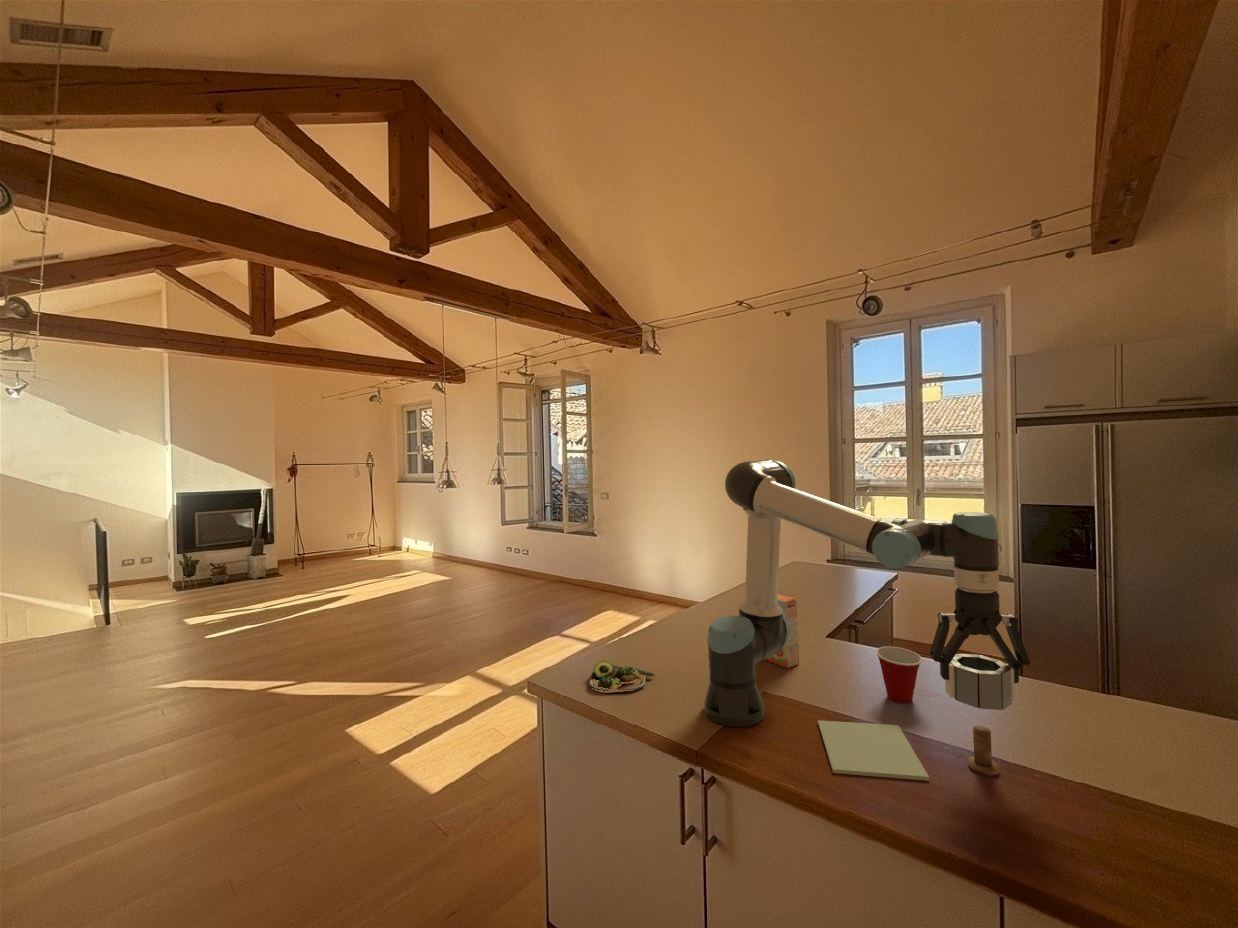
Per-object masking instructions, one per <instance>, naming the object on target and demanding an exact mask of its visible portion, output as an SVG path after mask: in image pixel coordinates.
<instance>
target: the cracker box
mask: <svg viewBox="0 0 1238 928" xmlns="http://www.w3.org/2000/svg"><path fill="white" fill-rule="evenodd" d="M777 603H778V605H779V606H780V607H781V608H782V609H783V616H784V619H785V620H786V621H787V623H788V626H789V638H788V641H787V643H786V644H785V646H784V647H783V648H782V649H781V650H780V651H778V652H777V653H776V654H774V655H771V656H769V657H767V658H765V659H764V661H766V662H769V663H772V664H775V665H777V666H780V667H783V668H786V669H789V668H792V667H795V666H798V665H799V664H800V655H799V653H800V651H799V650H800V649H799V632H798V630H799V629H798V626H799V625H798V609H797V606H798V605H797V603H798V602H797V598H796V597H791V596H788V595H787V596H786V595H782V594H778V599H777Z"/></svg>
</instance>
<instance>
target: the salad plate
mask: <svg viewBox="0 0 1238 928" xmlns="http://www.w3.org/2000/svg"><path fill="white" fill-rule="evenodd" d="M654 676H655V673H654V672H650V671H645V670H643V668H640V667H638V666H634V665H633V666H632V665H631V666H628V665H625V666H617V665H613V664H612V662H610V661H608V660H601V661H599V662H597V663H596V664H595V665H594V667H593V672H592V673H591V675H590V680H589V683H588V686H590V687H591V688H594V689H597V690H603V691H606V690H607V691H608V690H609V689H614V688H616V687H617V686H618V685H620V684H621V682H630V681H633V680H635V679H639V680H640V684H639V685H637V686H632V687H629V688H624V689H620V690H635V689H638V690H640V689H641V687H642V688H643V687H644V686H645V685H646V679H647V678H649V677H654ZM615 678H618V679H620V681H618V680H616V679H615ZM593 679H595V680H599V682H598V687H597V686H595V685H594V684H593V682H592V680H593ZM590 687H589V688H590ZM599 687H603V688H608V689H603V688H599ZM591 688H590V689H591ZM639 688H640V689H639ZM610 691H611V690H610ZM635 691H636V690H635Z"/></svg>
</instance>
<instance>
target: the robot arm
mask: <svg viewBox="0 0 1238 928" xmlns="http://www.w3.org/2000/svg"><path fill="white" fill-rule="evenodd" d="M796 485H797V483H796V478H795V475H794V472H793V471H792V469H790V467H789V466H788V465H786V464H785V463H784V462H782V461H779V460H774V459H773V460H772V459H763V460H761V459H760V460H751V461H749V460H748V461H742V462H739V463H738V464H735V465H734V466H733V467H731V469H729V471H728V473H727V474H726V477H725V481H724V489H725V492H726V494H727V496H728V498H729V500H731V501H732V502H733V503H734V504H736V505H737V506H739V507H741V508H742V511H744V512H745V513H746V515H747V533H746V534H747V536H746V537H747V538H746V541H747V542H746V561H745V562H746V563H745V564H746V566H745V589H744V590H745V591H744V592H745V593H744V594H745V595H744V600H743V601H742V602H741V603H740V604H739V606H738V615H728V616H722V617H720V618H716V619H715V620H714V621H712V622H711V623H710V625H708V630H707V633H708V634H707V641H706V642H707V647H708V648H707V649H708V663H709V685H708V687H707V692H706V695H705V698H704V705H703V706H704V708H703V709H704V713H705V716H706V717H707V718H708V719H709V720H710V721H712V722H714V723H715V722H716V723H715V724H718V725H721V726H725V727H732V728H745V727H750V726H754V725H757V724H758V723H759V724H760V722H761V721H762V720H764V718H765V704H764V701H763V698H762V696H761V693H760V690H759V688H758V685H757V677H756V676H757V675H756V674H757V671H756V670H757V669H756V664H758V663H760V662H762V661H763V660H764V659H765V658H767V657H769V656H771V655H774V654H776V653H777V652H778V651H780V650H781V649H782V648H783V647H784V646H785V644H786V643H787V641H788V638H789V626H788V623H787V621H786V620H785V619H784V616H783V609H782V608H781V607H780V606H779V605H778V603H777V599H778V595H779V571H780V569H779V568H780V547H781V546H780V545H781V521H782V520H785V521H787V522H790V523H792V524H794V525H797V526H800V527H802V528H805V529H807V530H810V531H811V532H815V533H818V534H819V535H823V536H825V537H827V538H829V539H830V538H831V540H832V539H833V540H835V541H837V542H841V543H842V544H845V545H848V546H851V547H853V548H856V549H858V550H860V551H863V552H866V553H868V554H870V555H873V556H874V558H875V559H876V560H877V561H878V562H879V563H880V564H882V565H883V566H885V567H887V568H891V569H899V568H904V567H907V566H910V565H912V564H914V563H915V562H916V561H918V560H920V559H921V558H924V557H926V556H932V557H933V556H934V557H944V558H953V566H954V569H953V572H954V574H953V576H954V577H953V581H954V583H953V584H954V585H955V586H956V587H955V588H954V605H955V609H954V610H953V613H944V612H943V611H940V612H938V613H937V619H938V624H937V627H936V630H935V635H934V638H933V641H932V644H931V647H930V650H929V654H928V655H929V656H930V658H931V659H932V660H933V661H934V662H935V663H939V673H940V677H941V678H942V679H943V680H945V682H944V683H945V693H946V694H947V695H948V696H949V697H950V698H951V699H952V698H953V699H954V698H955V686H954V666H953V665H952V664H951V663H950V662H951V661H952V659H953V658H954V656H955V655H956V654H958V651H959V650H960V648H961V647H962V646H963V643H965V640H967V639H969V637H970V635H971V636H978V635H982V636H989V637H990V638H991V640H992V641H993V643H994V645H995V646H996V648H997V649H998V651H1000V653H1001V655H1002V656H1003V658H1004V659H1005V660H1006V662H1007V663H1005V662H1003V663H1004V664H1006V665H1007V666H1008V667H1009V668H1011V689H1012V702H1015V701H1016V699H1015V697H1016V696H1015V684H1019V682H1020V673H1019V671H1021V670H1022V668H1023V666H1026V667H1027V666H1030V664H1031V661H1030V659H1029V656H1028V653H1027V650H1026V647H1025V645H1024V644H1025V643H1024V641H1023V638H1022V637H1021V636H1022V635H1021V633H1020V629H1019V619H1018V618H1017V617H1016V616H1014V615H1013V614H1011V613H1006V614H1001V613H1000V608H1001V607H1000V606H1001V605H1000V593H999V592H998V589H999V588H1000V580H999V579H1000V578H999V575H1000V574H999V573H1000V572H999V535H998V526H997V519H996V517H995V516H994V515H993V514H991V513H987V512H982V511H981V512H978V511H959V512H955V513H953V515H952V519H951V520H947V521H944V520H943V521H942V520H929V519H928V520H927V519H917V518H916V519H915V518H914V519H913V518H895V519H893V520H892V521H888V520H884V519H882V518H879V517H876V516H873V515H870V514H868V513H865V512H862V511H859V510H857V509H853V508H850V507H847V506H845V505H841V504H839V503H836V502H833V501H830V500H828V499H825V498H822V497H819V496H816V495H813V494H810V493H807V492H805V491H802V490H798V489H796ZM954 620H955V621H956V622H957V626H956V627H955V628H954V633H953V634H952V635H951V637H950V639H949V640H948V642H947V644H946V641H947V638H948V635H949V632H950V625H952V624H953V621H954ZM1001 622H1002V624H1003V625H1004V626H1005V629H1006V632H1007V634H1008V637H1009V640H1010V643H1011V646H1012V648H1013V652H1014V654H1013V653H1012V651H1011V649H1010V648H1009V647H1008V645H1007V643H1006V642H1005V641H1004V638H1002V635H1001V633H1000V632H999V631H998V629H997V627H998V626H999V625H1000V624H1001ZM945 644H946V645H945ZM1014 655H1015V656H1014ZM764 661H765V660H764Z"/></svg>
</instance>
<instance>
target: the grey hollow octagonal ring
mask: <svg viewBox="0 0 1238 928" xmlns="http://www.w3.org/2000/svg"><path fill="white" fill-rule="evenodd" d="M950 663H951V664H952V665H953V666H954V686H955V698H953V699H954V700H955V701H957V702H959V703H962V704H965V705H966V706H967V705H968V706H971V707H973V708H977V709H980V710H996V711H997V710H998V711H1002V710H1005V709H1007V708H1009V707H1010V706H1011V705H1013V701H1012V689H1011V668H1009V667H1008V666H1007V665H1006V664H1007V663H1005V662H1003V661H1002V660H1000V659H995V658H992V657H989V656H985V655H981V654H973V653H969V654H968V653H956V655H955V656H954V658H953V659H952V661H951V662H950ZM1004 663H1005V664H1004Z"/></svg>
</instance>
